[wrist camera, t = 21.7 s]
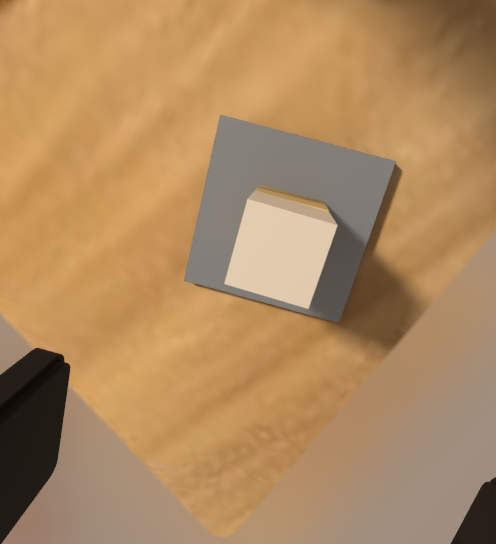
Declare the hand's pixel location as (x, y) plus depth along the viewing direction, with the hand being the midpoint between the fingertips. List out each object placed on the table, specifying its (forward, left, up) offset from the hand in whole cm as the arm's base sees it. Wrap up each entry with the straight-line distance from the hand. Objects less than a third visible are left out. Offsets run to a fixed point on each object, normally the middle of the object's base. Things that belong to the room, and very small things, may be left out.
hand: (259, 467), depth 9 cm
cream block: (0, 0, -25) cm, 25 cm away
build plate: (0, 0, -32) cm, 32 cm away
